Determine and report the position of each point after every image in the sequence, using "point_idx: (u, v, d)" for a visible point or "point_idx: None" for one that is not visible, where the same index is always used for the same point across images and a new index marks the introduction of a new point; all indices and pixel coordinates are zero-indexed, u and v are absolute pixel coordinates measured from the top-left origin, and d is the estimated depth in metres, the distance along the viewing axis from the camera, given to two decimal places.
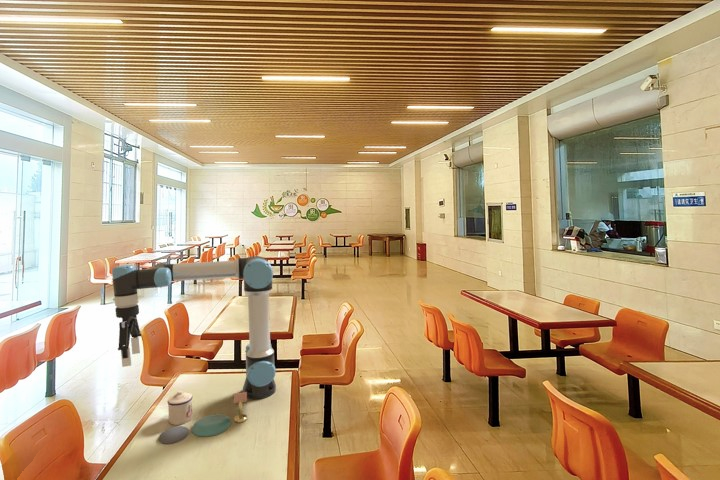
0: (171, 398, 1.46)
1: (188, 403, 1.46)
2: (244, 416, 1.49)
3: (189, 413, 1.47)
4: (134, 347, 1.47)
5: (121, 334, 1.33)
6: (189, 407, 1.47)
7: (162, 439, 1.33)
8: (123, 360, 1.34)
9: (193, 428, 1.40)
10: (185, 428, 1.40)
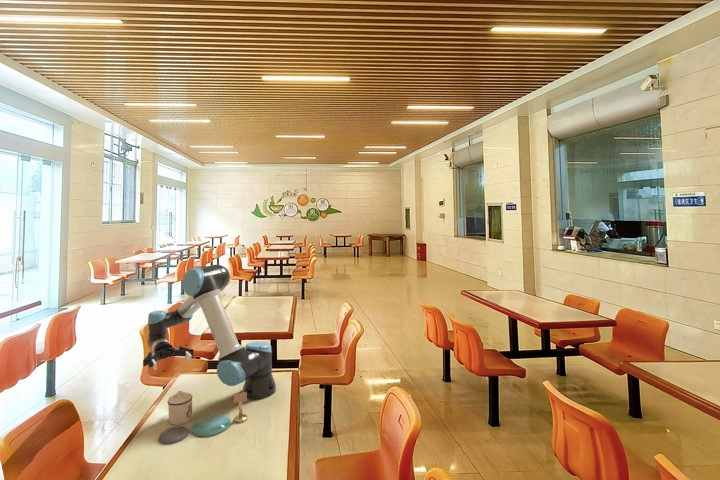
0: (171, 398, 1.46)
1: (188, 403, 1.46)
2: (244, 416, 1.49)
3: (189, 413, 1.47)
4: (188, 358, 1.62)
5: None
6: (189, 407, 1.47)
7: (162, 439, 1.33)
8: (153, 367, 1.53)
9: (193, 428, 1.40)
10: (185, 428, 1.40)
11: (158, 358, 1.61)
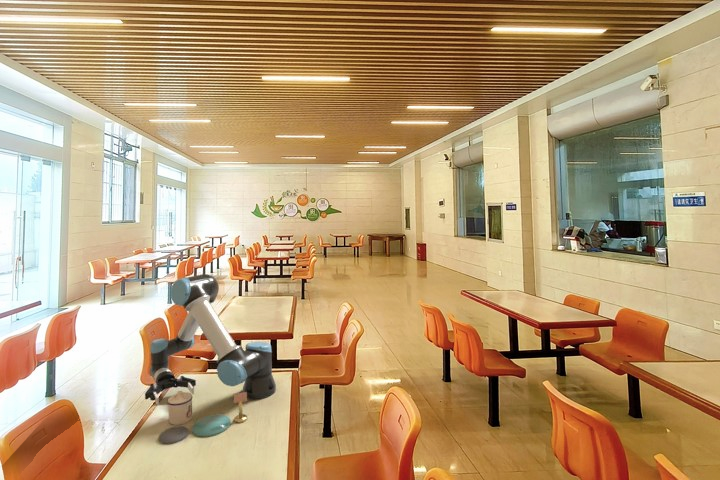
0: (171, 398, 1.46)
1: (188, 403, 1.46)
2: (244, 416, 1.49)
3: (189, 413, 1.47)
4: (190, 389, 1.60)
5: None
6: (189, 407, 1.47)
7: (162, 439, 1.33)
8: (155, 401, 1.52)
9: (193, 428, 1.40)
10: (185, 428, 1.40)
11: (160, 390, 1.60)
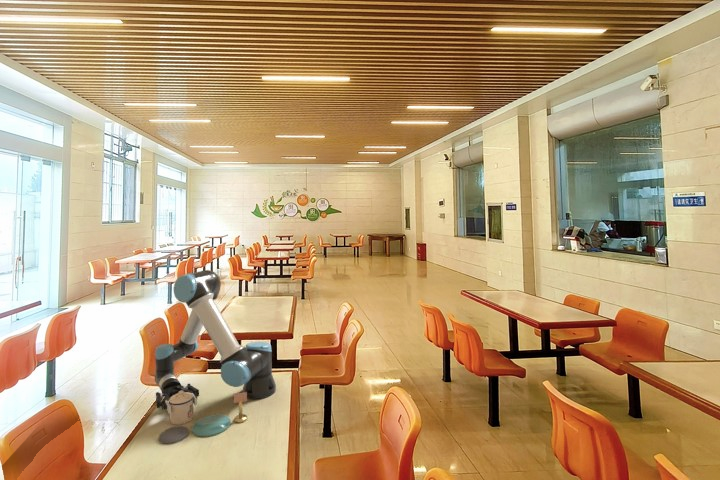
0: (172, 398, 1.46)
1: (189, 403, 1.47)
2: (244, 416, 1.49)
3: (190, 412, 1.47)
4: (193, 400, 1.50)
5: None
6: (190, 407, 1.47)
7: (162, 439, 1.33)
8: (167, 410, 1.44)
9: (193, 428, 1.40)
10: (185, 428, 1.40)
11: (169, 398, 1.53)
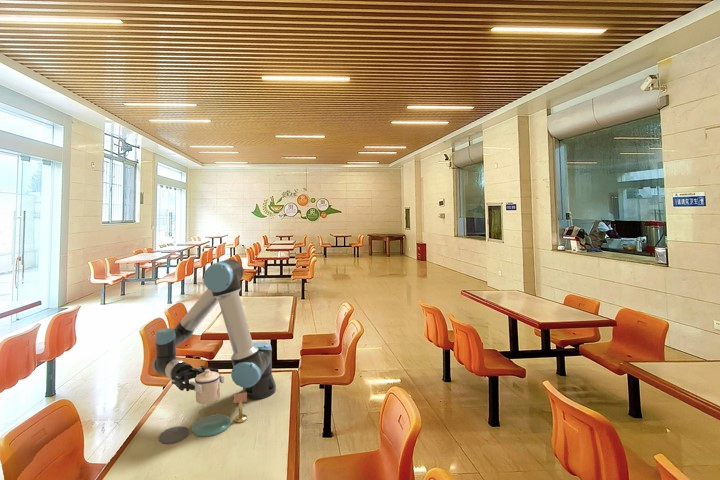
0: (199, 377, 1.39)
1: (218, 380, 1.42)
2: (244, 416, 1.49)
3: (218, 390, 1.42)
4: None
5: (176, 384, 1.41)
6: (218, 384, 1.42)
7: (162, 439, 1.33)
8: (196, 390, 1.37)
9: (193, 428, 1.40)
10: (185, 428, 1.40)
11: None
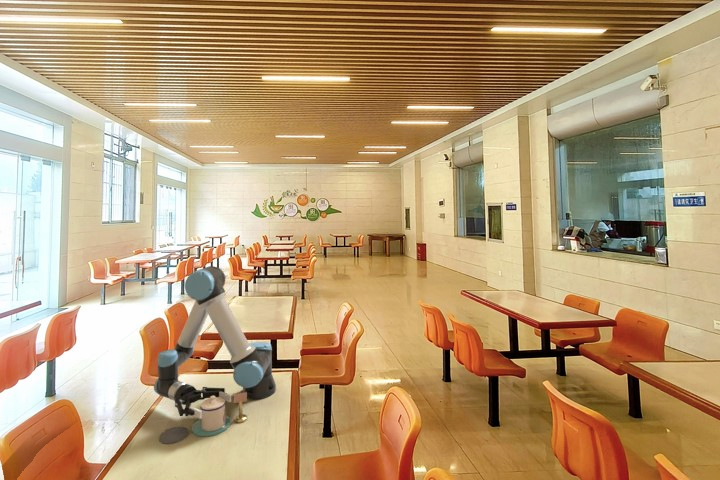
0: (205, 404, 1.39)
1: (223, 407, 1.42)
2: (244, 416, 1.49)
3: (224, 416, 1.43)
4: (225, 398, 1.48)
5: (177, 408, 1.40)
6: (224, 410, 1.43)
7: (162, 439, 1.33)
8: (196, 415, 1.36)
9: (193, 428, 1.40)
10: (185, 428, 1.40)
11: (190, 404, 1.43)
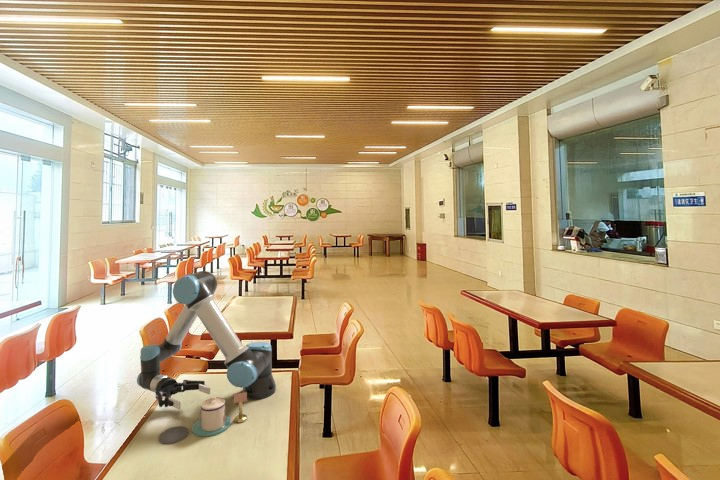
0: (205, 405, 1.39)
1: (224, 407, 1.42)
2: (244, 416, 1.49)
3: (224, 416, 1.43)
4: (204, 390, 1.54)
5: None
6: (224, 410, 1.43)
7: (162, 439, 1.33)
8: (175, 406, 1.43)
9: (193, 428, 1.40)
10: (185, 428, 1.40)
11: (170, 396, 1.50)
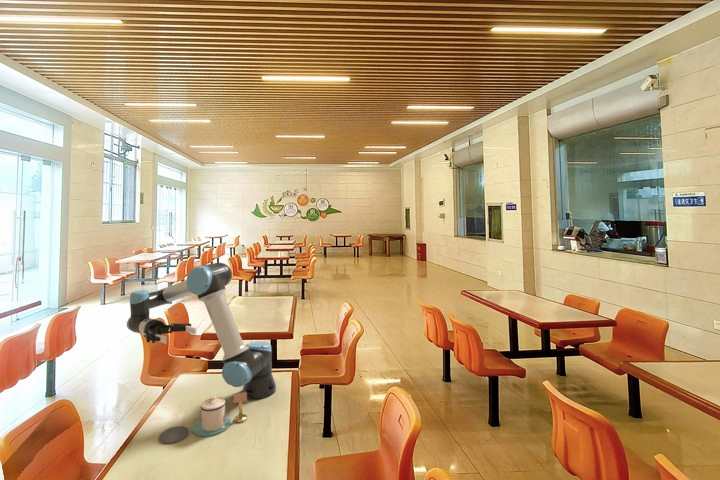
0: (205, 405, 1.39)
1: (224, 407, 1.42)
2: (244, 416, 1.49)
3: (224, 416, 1.43)
4: (190, 331, 1.61)
5: None
6: (224, 410, 1.43)
7: (162, 439, 1.33)
8: (161, 341, 1.50)
9: (193, 428, 1.40)
10: (185, 428, 1.40)
11: None
